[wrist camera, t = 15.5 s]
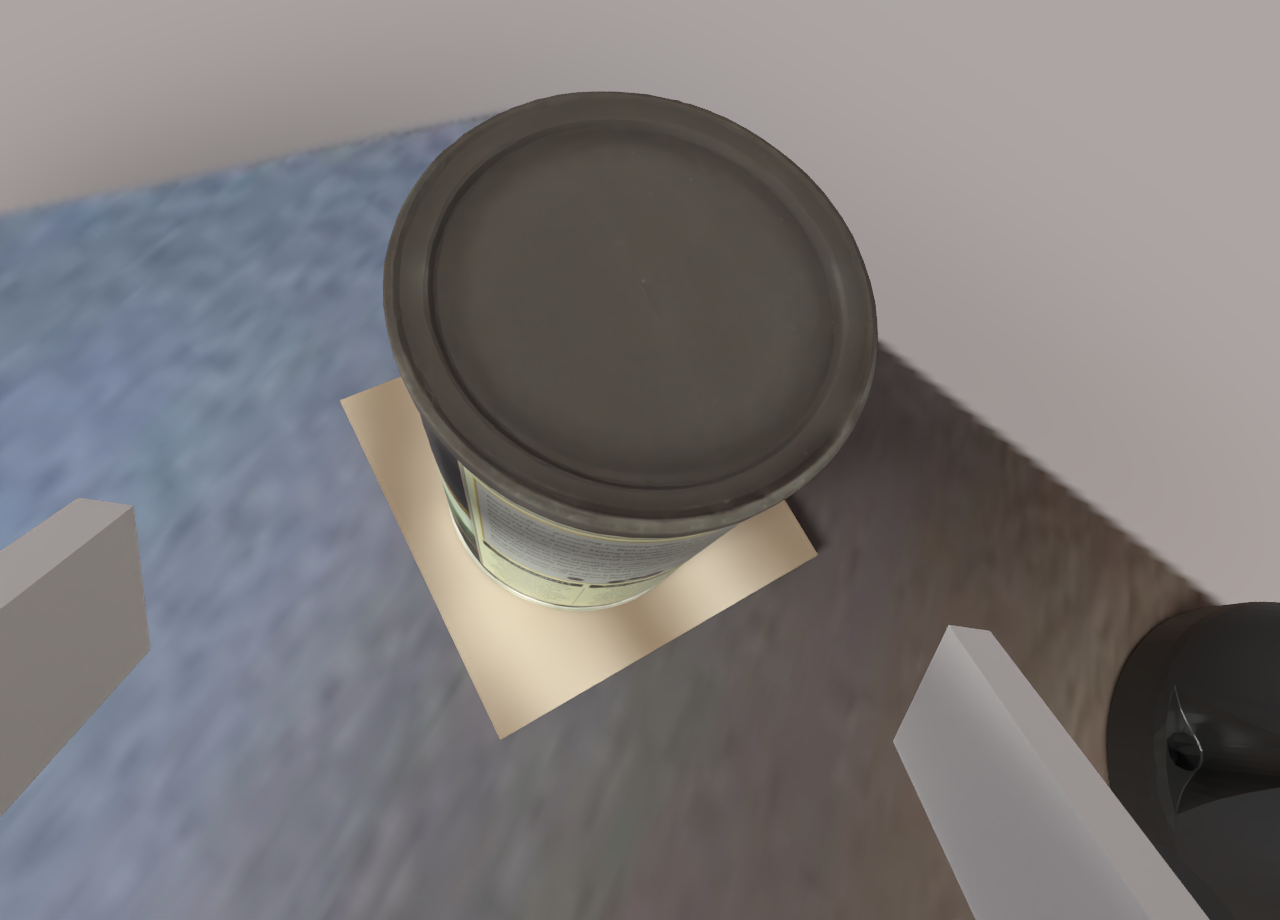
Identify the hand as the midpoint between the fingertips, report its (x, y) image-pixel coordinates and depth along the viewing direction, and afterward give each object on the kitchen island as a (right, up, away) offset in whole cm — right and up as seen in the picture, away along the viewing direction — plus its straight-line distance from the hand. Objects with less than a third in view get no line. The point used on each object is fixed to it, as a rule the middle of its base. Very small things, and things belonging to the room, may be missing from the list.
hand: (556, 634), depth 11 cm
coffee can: (-1, +2, +16) cm, 16 cm away
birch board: (-1, +2, +17) cm, 17 cm away
